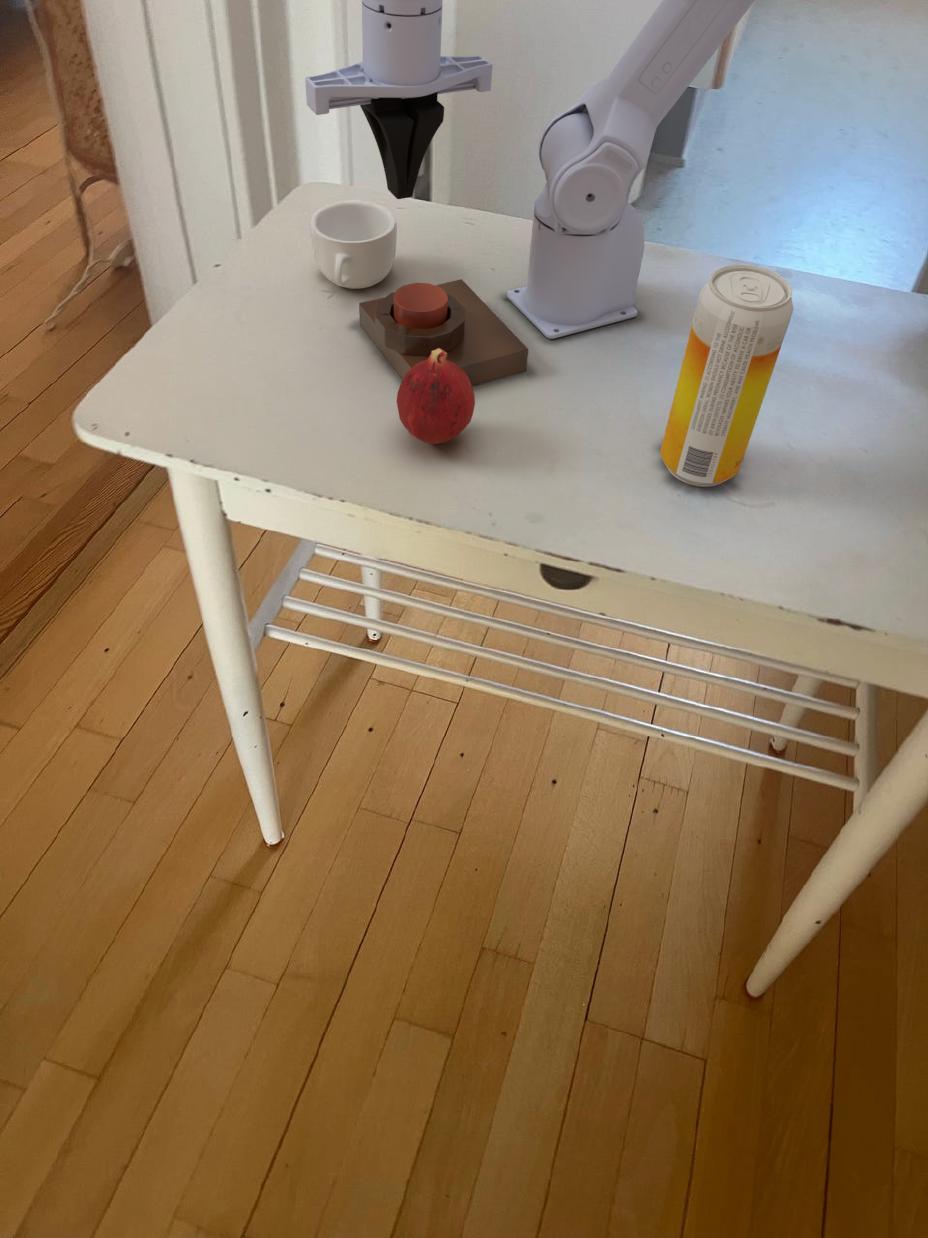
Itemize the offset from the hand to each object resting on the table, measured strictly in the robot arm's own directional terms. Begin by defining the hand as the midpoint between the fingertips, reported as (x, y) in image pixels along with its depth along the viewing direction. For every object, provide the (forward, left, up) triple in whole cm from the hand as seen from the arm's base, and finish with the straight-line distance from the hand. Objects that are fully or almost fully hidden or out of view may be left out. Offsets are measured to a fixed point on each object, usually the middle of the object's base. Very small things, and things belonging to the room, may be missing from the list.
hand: (400, 192), depth 78 cm
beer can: (-11, +29, -11) cm, 33 cm away
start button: (+2, +7, -7) cm, 10 cm away
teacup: (+2, -6, -11) cm, 12 cm away
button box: (0, +7, -10) cm, 13 cm away
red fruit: (+6, +18, -11) cm, 22 cm away
